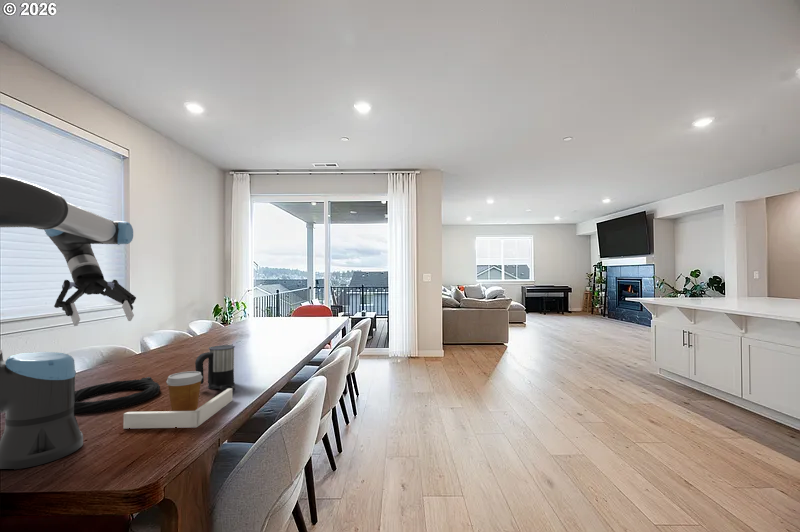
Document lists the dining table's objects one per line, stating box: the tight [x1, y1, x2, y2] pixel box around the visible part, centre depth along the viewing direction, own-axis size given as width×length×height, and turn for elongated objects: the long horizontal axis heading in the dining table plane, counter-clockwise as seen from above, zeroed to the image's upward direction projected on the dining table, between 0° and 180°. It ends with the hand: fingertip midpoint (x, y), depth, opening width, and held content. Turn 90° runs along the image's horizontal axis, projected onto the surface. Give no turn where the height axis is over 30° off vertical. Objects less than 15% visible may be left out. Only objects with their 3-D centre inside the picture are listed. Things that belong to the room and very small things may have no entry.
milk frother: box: [194, 344, 236, 391], centre depth 136 cm, size 14×16×15 cm
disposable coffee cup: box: [166, 370, 203, 411], centre depth 110 cm, size 10×10×12 cm
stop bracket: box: [122, 388, 233, 430], centre depth 111 cm, size 22×20×4 cm
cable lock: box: [74, 376, 161, 415], centre depth 126 cm, size 28×4×30 cm
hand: (105, 320), depth 111 cm, fingers open, 13 cm apart
